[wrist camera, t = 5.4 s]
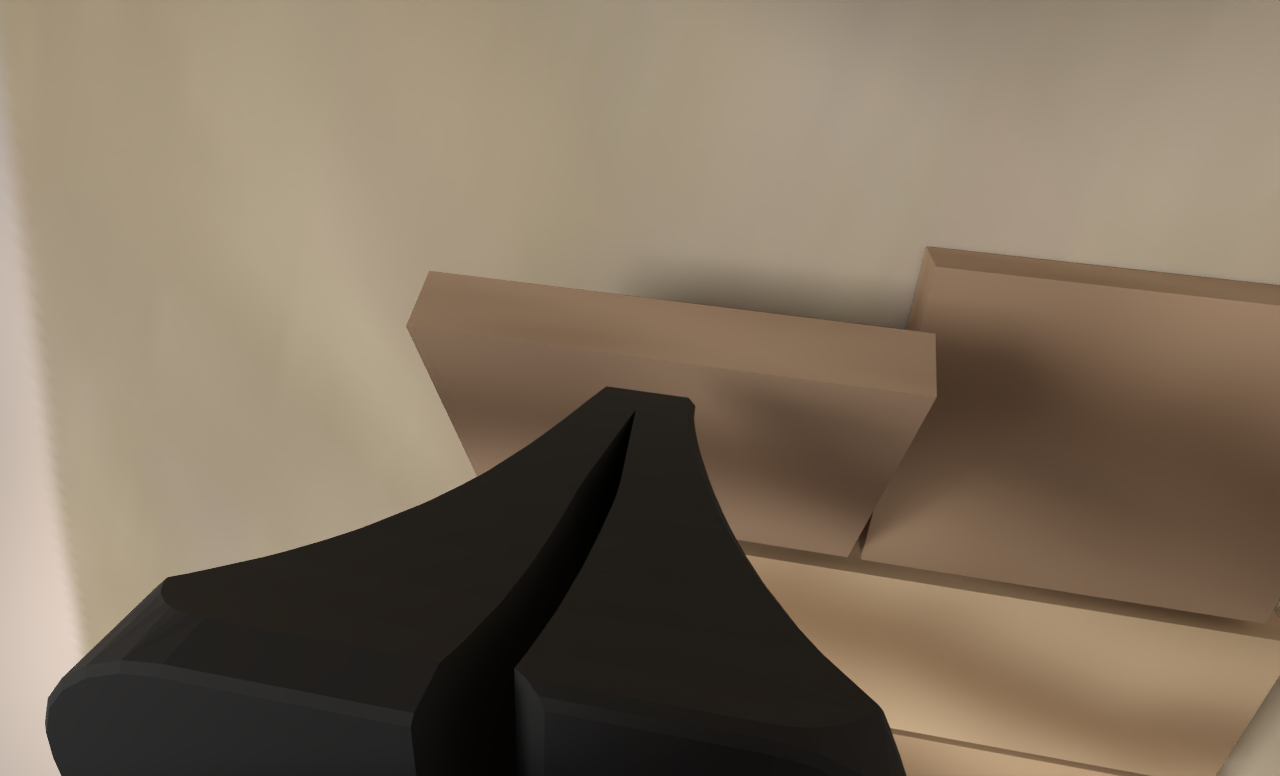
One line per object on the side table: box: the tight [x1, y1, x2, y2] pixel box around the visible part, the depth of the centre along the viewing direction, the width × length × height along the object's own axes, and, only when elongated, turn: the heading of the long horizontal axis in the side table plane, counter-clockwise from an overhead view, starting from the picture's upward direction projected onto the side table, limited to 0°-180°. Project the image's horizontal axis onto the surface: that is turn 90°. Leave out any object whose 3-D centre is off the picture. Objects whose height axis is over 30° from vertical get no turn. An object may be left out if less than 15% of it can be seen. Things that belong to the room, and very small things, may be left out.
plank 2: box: [859, 247, 1280, 624], centre depth 16 cm, size 7×8×1 cm
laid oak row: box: [737, 540, 1280, 776], centre depth 21 cm, size 10×18×1 cm, turn 87°
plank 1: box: [406, 271, 937, 557], centre depth 16 cm, size 7×8×1 cm
